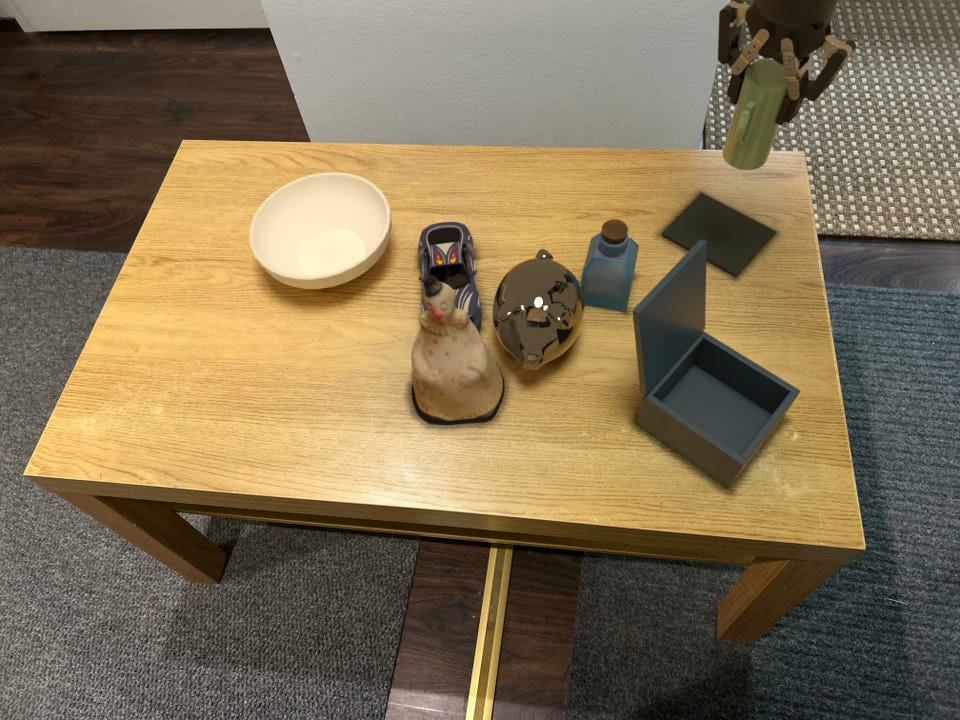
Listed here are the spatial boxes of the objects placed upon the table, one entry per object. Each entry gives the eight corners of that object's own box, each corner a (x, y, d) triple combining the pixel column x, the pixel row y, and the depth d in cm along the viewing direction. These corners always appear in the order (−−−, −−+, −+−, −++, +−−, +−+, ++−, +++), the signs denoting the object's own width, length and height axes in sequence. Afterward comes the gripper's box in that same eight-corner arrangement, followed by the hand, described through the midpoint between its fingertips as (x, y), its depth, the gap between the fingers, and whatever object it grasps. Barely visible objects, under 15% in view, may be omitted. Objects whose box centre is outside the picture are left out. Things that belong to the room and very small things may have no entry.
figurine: (413, 429, 84) (380, 339, 67) (411, 357, 89) (380, 257, 72) (508, 419, 84) (500, 326, 67) (500, 347, 89) (490, 245, 72)
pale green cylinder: (775, 152, 82) (805, 71, 73) (745, 184, 80) (772, 104, 71) (737, 134, 84) (761, 53, 75) (706, 164, 82) (727, 85, 73)
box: (782, 418, 81) (801, 390, 75) (728, 489, 77) (743, 465, 71) (690, 360, 86) (701, 329, 80) (635, 423, 82) (642, 396, 76)
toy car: (425, 344, 90) (419, 322, 86) (419, 239, 100) (413, 215, 96) (484, 337, 90) (481, 315, 86) (472, 232, 100) (469, 208, 96)
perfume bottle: (633, 275, 94) (644, 214, 83) (626, 312, 91) (636, 252, 80) (588, 268, 95) (594, 206, 85) (579, 304, 92) (584, 244, 82)
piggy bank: (486, 384, 86) (479, 333, 77) (504, 289, 94) (499, 232, 84) (575, 393, 85) (580, 343, 75) (586, 296, 92) (591, 239, 83)
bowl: (256, 315, 95) (237, 283, 89) (276, 211, 105) (260, 176, 99) (396, 307, 94) (386, 274, 88) (402, 202, 104) (394, 167, 98)
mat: (775, 233, 96) (776, 231, 95) (736, 277, 92) (736, 275, 92) (700, 194, 100) (701, 192, 100) (661, 235, 97) (661, 232, 97)
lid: (707, 241, 70) (700, 238, 70) (638, 313, 66) (632, 310, 66) (705, 328, 80) (699, 326, 80) (646, 395, 76) (640, 392, 76)
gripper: (905, -39, 61) (836, 118, 75) (760, -85, 67) (721, 69, 81) (865, 2, 58) (801, 156, 73) (717, -50, 64) (685, 103, 79)
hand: (759, 109), depth 77 cm, fingers closed on pale green cylinder, 5 cm apart
